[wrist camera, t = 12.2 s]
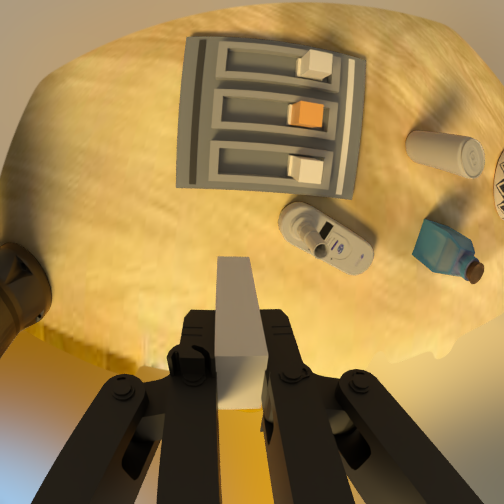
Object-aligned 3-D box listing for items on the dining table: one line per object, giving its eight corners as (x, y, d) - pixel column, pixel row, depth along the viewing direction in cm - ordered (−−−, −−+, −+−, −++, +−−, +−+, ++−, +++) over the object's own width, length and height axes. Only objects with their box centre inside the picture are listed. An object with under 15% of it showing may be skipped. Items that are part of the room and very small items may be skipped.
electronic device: (382, 309, 32) (285, 262, 27) (352, 272, 40) (269, 228, 36) (407, 275, 30) (315, 216, 26) (372, 244, 39) (290, 193, 35)
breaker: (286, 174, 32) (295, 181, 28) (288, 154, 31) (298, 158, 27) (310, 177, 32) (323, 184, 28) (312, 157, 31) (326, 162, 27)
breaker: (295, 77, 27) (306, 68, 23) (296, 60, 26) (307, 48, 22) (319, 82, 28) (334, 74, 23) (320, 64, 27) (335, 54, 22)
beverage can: (419, 124, 31) (477, 130, 20) (432, 152, 33) (489, 166, 22) (398, 140, 32) (456, 150, 21) (412, 168, 34) (469, 187, 23)
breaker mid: (286, 124, 30) (295, 123, 25) (287, 105, 29) (297, 100, 24) (311, 127, 30) (324, 127, 25) (312, 108, 29) (326, 105, 24)
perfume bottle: (447, 226, 38) (495, 256, 27) (435, 259, 40) (478, 294, 29) (424, 218, 37) (474, 249, 26) (411, 254, 40) (456, 292, 29)
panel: (177, 186, 33) (173, 190, 30) (188, 39, 25) (184, 32, 23) (348, 197, 35) (356, 202, 33) (361, 62, 27) (371, 57, 25)
